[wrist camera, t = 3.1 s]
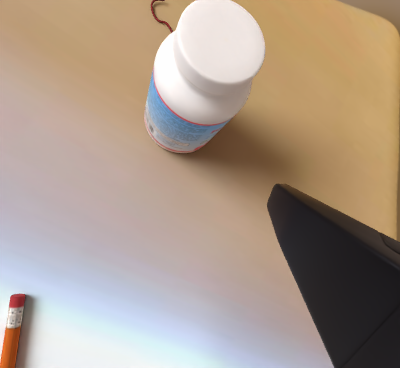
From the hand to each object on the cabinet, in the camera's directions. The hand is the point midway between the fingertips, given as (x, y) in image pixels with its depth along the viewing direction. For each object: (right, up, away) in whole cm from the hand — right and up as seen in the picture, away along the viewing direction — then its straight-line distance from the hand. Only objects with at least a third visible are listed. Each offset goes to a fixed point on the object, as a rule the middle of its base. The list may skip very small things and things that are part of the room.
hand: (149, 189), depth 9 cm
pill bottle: (0, +6, +15) cm, 16 cm away
